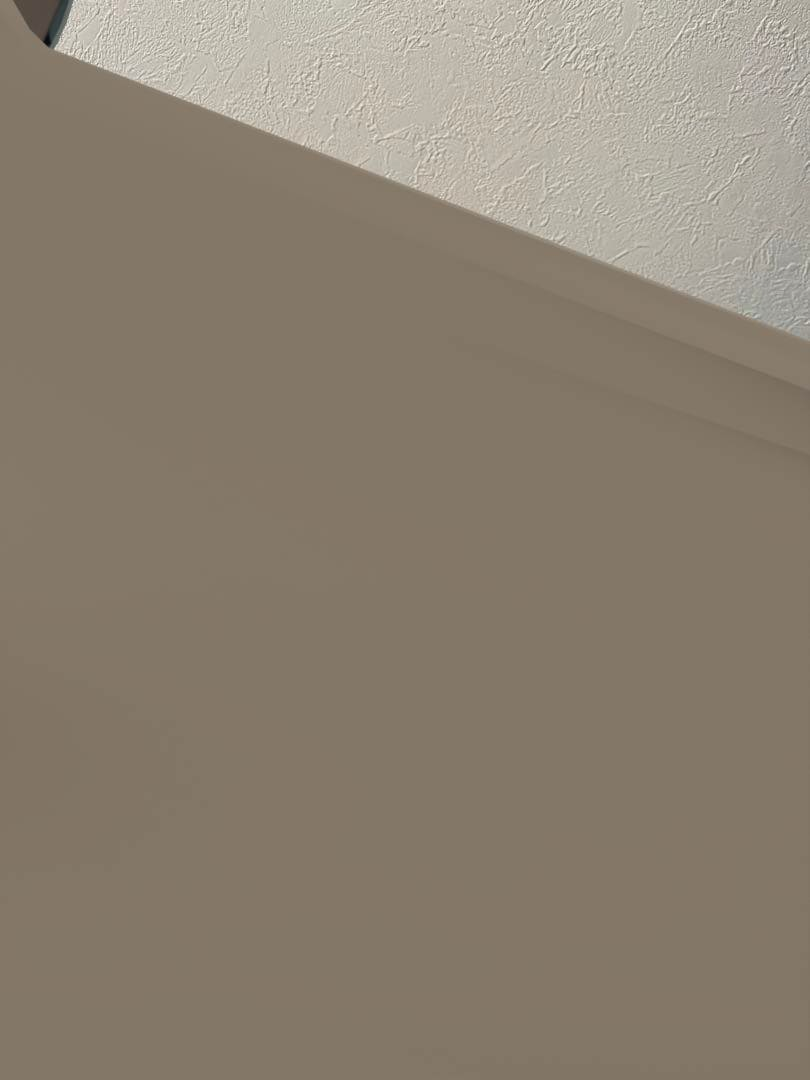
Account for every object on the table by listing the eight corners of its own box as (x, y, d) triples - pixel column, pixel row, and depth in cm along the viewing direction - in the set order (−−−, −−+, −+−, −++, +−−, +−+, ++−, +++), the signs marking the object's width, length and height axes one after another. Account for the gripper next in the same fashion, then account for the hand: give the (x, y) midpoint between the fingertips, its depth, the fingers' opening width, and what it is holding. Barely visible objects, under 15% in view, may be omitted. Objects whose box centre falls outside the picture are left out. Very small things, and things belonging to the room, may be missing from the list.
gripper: (870, 1049, 32) (386, 825, 45) (1037, 521, 44) (614, 464, 57) (856, 957, 27) (319, 736, 40) (1048, 392, 39) (583, 362, 52)
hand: (490, 577), depth 49 cm, fingers open, 13 cm apart
